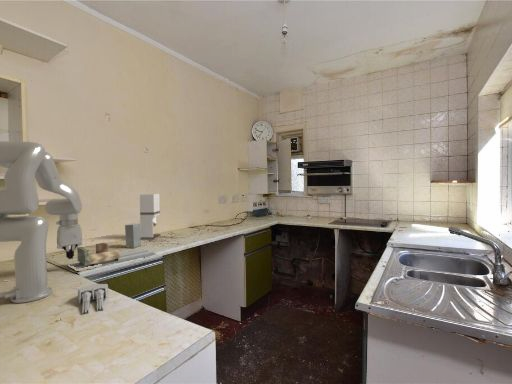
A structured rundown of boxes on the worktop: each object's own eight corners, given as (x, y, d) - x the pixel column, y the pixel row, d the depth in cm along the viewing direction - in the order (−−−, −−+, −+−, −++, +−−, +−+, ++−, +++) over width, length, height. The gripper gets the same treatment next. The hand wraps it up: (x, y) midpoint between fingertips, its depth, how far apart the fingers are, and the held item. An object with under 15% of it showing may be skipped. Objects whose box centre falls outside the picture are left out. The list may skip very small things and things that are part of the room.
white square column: (154, 240, 203) (153, 194, 202) (140, 240, 203) (139, 194, 202) (160, 236, 215) (159, 193, 213) (147, 236, 215) (146, 193, 213)
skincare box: (134, 248, 178) (133, 225, 177) (124, 248, 179) (124, 224, 179) (141, 245, 186) (141, 223, 185) (132, 245, 187) (132, 222, 187)
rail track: (76, 272, 131) (76, 269, 131) (67, 265, 142) (66, 263, 142) (156, 254, 163) (156, 252, 163) (143, 250, 174) (143, 248, 174)
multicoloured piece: (85, 268, 136) (84, 251, 136) (77, 263, 144) (77, 247, 143) (120, 260, 149) (120, 244, 149) (112, 256, 157) (111, 241, 157)
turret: (75, 323, 89) (75, 310, 88) (79, 292, 106) (78, 282, 105) (109, 315, 94) (109, 303, 93) (107, 287, 111) (107, 277, 110)
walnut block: (99, 256, 158) (98, 245, 158) (96, 255, 162) (95, 244, 161) (108, 255, 162) (107, 243, 162) (104, 253, 166) (104, 242, 165)
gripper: (52, 225, 127) (54, 263, 128) (88, 221, 138) (89, 256, 139) (48, 223, 132) (50, 260, 133) (83, 220, 143) (84, 253, 144)
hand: (70, 258), depth 136 cm, fingers closed
